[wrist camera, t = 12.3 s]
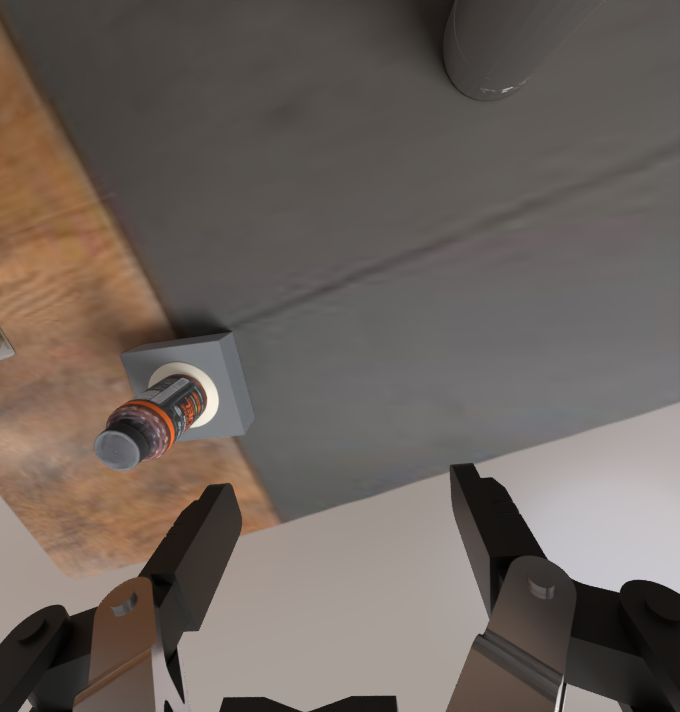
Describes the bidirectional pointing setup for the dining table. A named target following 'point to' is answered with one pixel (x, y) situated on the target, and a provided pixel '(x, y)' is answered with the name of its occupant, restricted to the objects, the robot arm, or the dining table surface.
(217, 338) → the base block
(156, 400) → the supplement bottle
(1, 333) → the coffee box
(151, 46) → the dining table surface
